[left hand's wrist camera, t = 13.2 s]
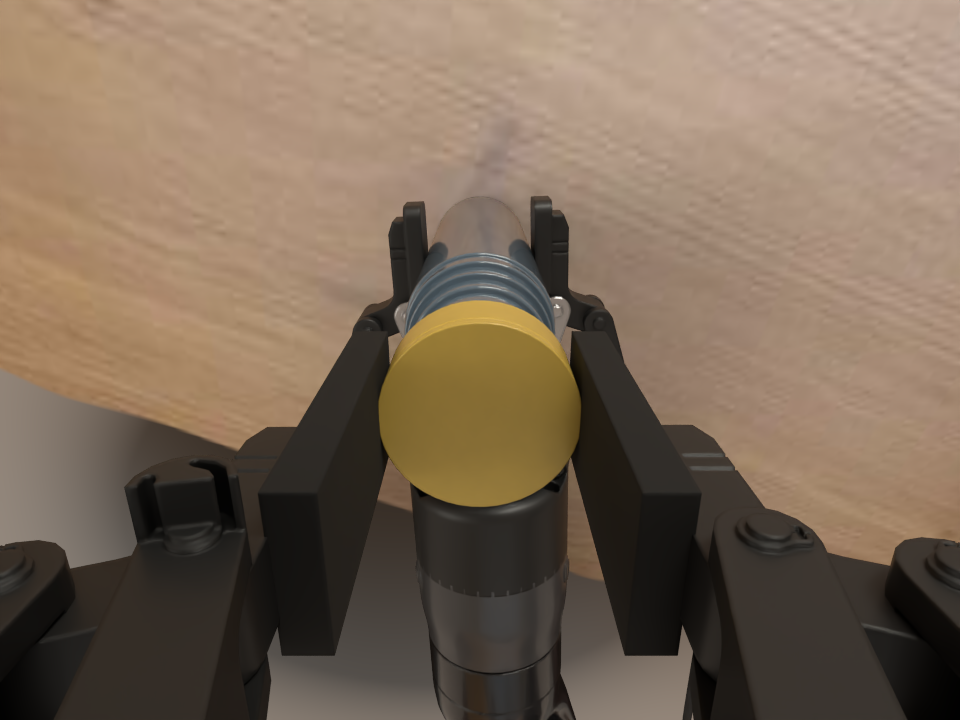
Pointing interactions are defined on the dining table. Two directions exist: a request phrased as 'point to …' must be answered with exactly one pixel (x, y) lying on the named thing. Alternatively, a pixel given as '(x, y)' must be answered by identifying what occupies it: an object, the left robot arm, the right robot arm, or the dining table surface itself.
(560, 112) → the dining table surface
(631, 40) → the dining table surface
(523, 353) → the cap
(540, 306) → the bottle
